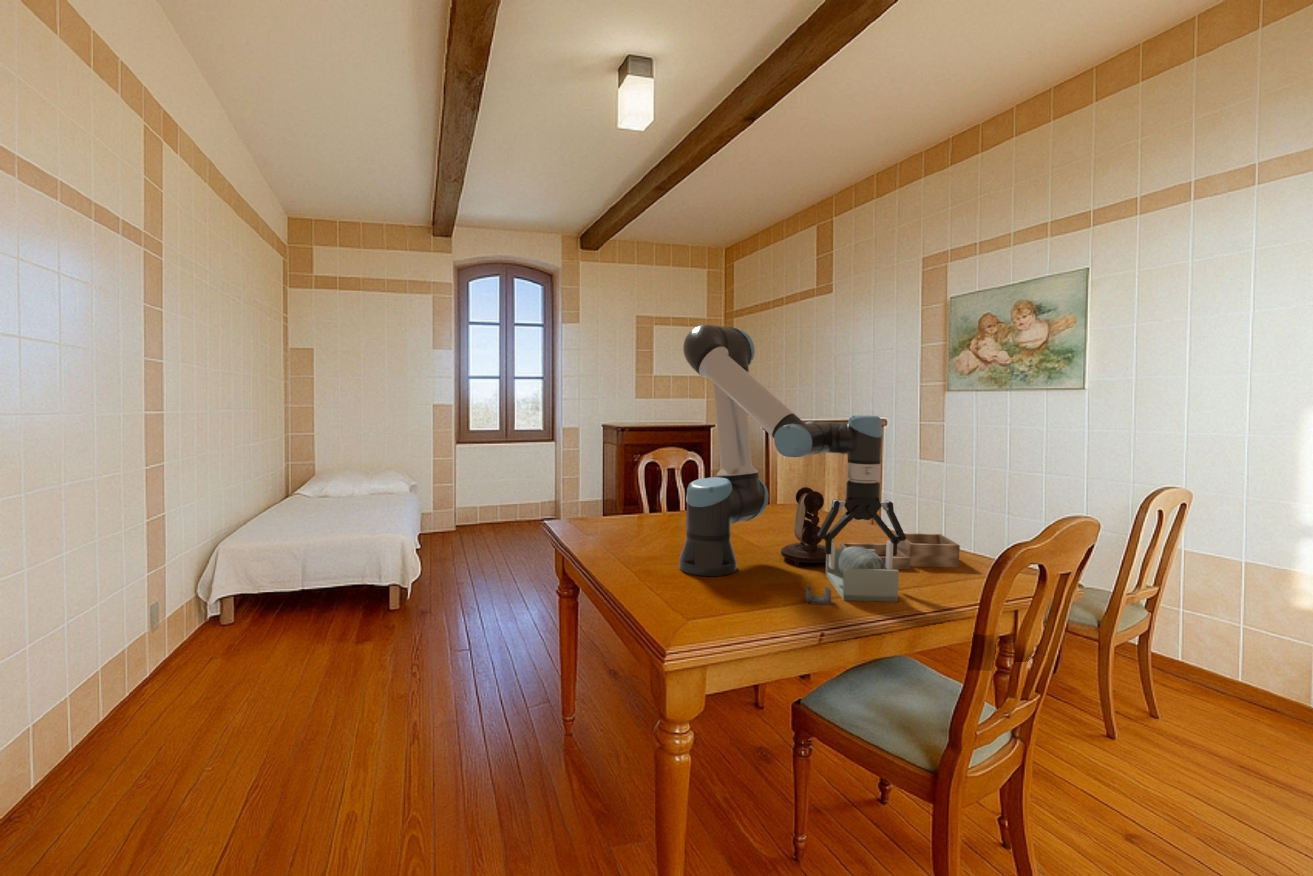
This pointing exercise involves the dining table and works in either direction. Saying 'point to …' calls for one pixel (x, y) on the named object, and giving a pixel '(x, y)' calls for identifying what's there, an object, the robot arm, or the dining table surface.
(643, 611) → the dining table surface
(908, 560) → the frame
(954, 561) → the frame
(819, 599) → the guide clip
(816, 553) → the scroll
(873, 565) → the grey oval rock
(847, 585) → the holder
